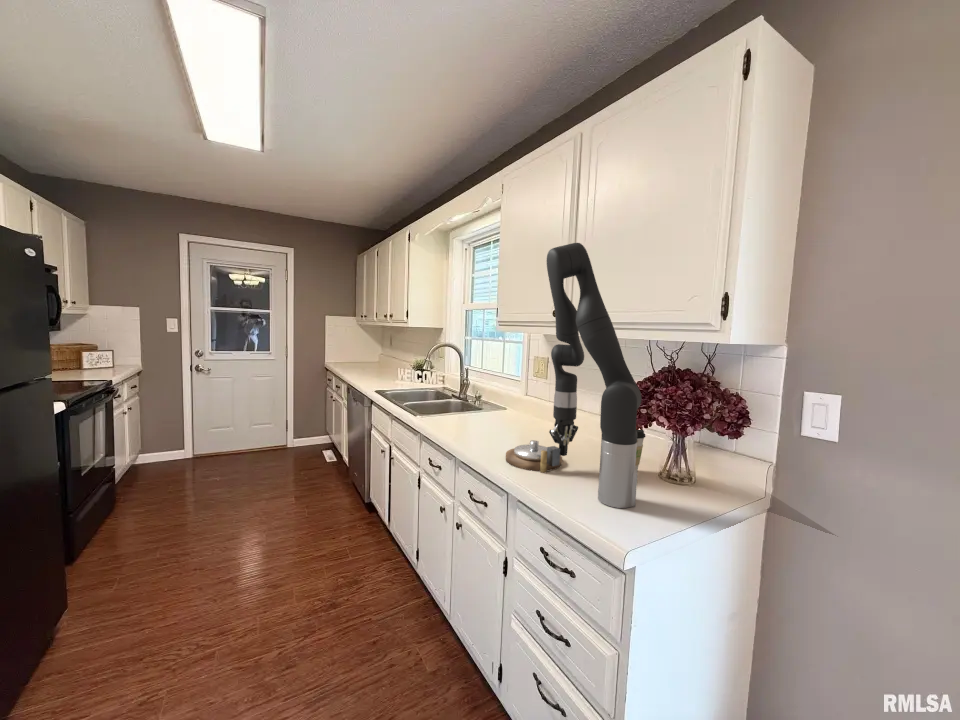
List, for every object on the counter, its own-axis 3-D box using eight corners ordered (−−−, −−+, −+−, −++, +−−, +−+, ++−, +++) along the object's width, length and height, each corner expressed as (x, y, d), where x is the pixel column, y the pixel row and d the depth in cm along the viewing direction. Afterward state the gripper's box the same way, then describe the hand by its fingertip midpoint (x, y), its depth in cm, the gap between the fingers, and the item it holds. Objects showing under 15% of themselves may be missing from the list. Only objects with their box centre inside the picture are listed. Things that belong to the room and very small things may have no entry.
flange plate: (506, 450, 143) (507, 435, 143) (538, 446, 150) (538, 432, 149) (538, 468, 126) (539, 451, 126) (572, 463, 133) (573, 446, 132)
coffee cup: (615, 476, 128) (618, 431, 127) (608, 466, 138) (611, 424, 136) (646, 479, 127) (649, 433, 126) (638, 468, 136) (641, 426, 135)
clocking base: (558, 453, 150) (559, 435, 149) (566, 474, 128) (567, 453, 128) (506, 450, 151) (506, 432, 151) (504, 470, 130) (505, 449, 129)
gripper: (568, 400, 138) (566, 448, 139) (543, 404, 129) (541, 455, 131) (586, 404, 132) (584, 454, 133) (561, 408, 124) (559, 462, 125)
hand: (562, 455), depth 132 cm, fingers closed
